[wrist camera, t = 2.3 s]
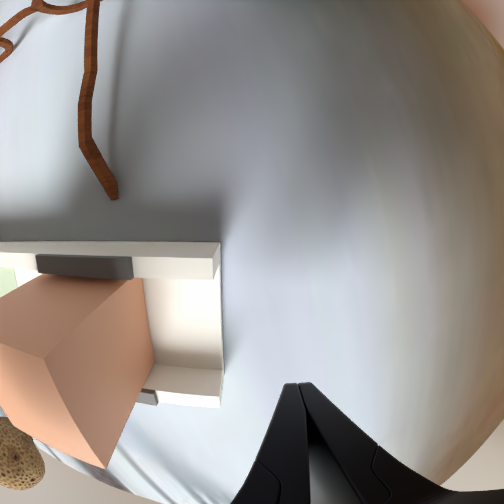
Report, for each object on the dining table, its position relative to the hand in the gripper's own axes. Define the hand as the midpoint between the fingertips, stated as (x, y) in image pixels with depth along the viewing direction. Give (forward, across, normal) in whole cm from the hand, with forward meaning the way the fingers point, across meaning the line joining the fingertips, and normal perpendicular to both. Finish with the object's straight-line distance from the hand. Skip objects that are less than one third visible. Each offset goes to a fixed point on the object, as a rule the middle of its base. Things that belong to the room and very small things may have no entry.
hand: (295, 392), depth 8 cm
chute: (+5, +12, 0) cm, 13 cm away
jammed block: (+4, +9, 0) cm, 10 cm away
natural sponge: (+5, +27, +18) cm, 33 cm away
